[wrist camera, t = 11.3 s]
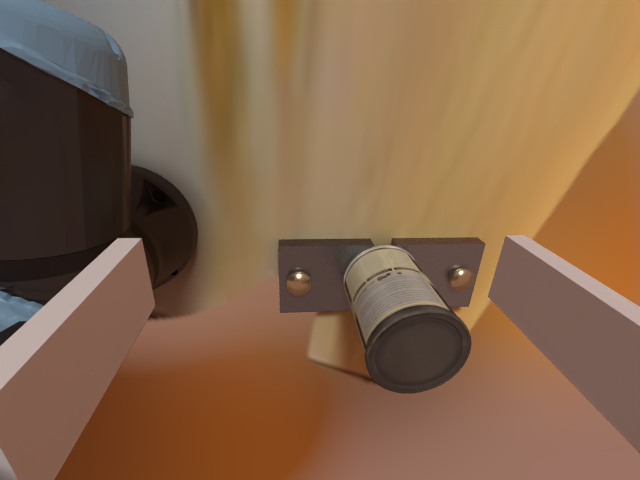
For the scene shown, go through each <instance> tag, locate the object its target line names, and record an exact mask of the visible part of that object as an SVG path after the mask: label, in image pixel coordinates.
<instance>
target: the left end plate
mask: <svg viewBox="0 0 640 480" xmlns="http://www.w3.org/2000/svg"><path fill="white" fill-rule="evenodd" d="M372 247H374V244H373V243H372V241H371V239H295V240H279V282H280V283H279V284H280V313H288V312H318V311H348V310H351V308H350V304H349V301H348V298H347V295H346V293H345V290H344V286H343V280H344V274H345V272H346V269H347V267H348V266H349V264H350V263H351V261H352V260H353V259H354V258H355V257H356V256H357V255H359V254H360V253H361V252H363V251H365V250H367V249H369V248H372Z"/></svg>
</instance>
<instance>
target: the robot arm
mask: <svg viewBox="0 0 640 480" xmlns="http://www.w3.org/2000/svg"><path fill="white" fill-rule="evenodd" d="M131 118H133V111H132V109H131V108H130V105H129V89H128V73H127V63H126V59H125V56H124V53H123V51H122V50H121V48H120V46H119V45H118V44H117V42H116V41H115V40H114V39H113V38H112V37H111V36H110V35H109V34H108V33H106V32H105V31H103V30H102V29H100V28H99V27H97V26H95V25H94V24H92V23H90V22H88V21H86V20H84V19H82V18H80V17H78V16H76V15H73V14H71V13H69V12H67V11H65V10H62V9H60V8H58V7H55V6H53V5H51V4H49V3H46V2H44V1H42V0H0V480H54V479H55V477H56V475H57V474H58V472H59V470H60V469H61V467H62V465H63V463H64V461H65V460H66V458H67V456H68V455H69V453H70V451H71V450H72V448H73V446H74V445H75V443H76V441H77V439H78V438H79V436H80V434H81V432H82V431H83V429H84V427H85V425H86V424H87V422H88V421H89V419H90V417H91V415H92V414H93V412H94V410H95V409H96V407H97V405H98V403H99V402H100V400H101V398H102V396H103V395H104V393H105V391H106V389H107V388H108V386H109V384H110V383H111V381H112V379H113V378H114V376H115V374H116V372H117V371H118V369H119V367H120V365H121V364H122V362H123V361H124V359H125V357H126V355H127V353H128V352H129V350H130V348H131V347H132V345H133V343H134V342H135V340H136V338H137V336H138V335H139V333H140V331H141V329H142V328H143V326H144V324H145V323H146V321H147V319H148V318H149V316H150V314H151V312H152V311H153V309H154V307H155V306H156V305H155V301H154V296H153V291H152V290H154V289H156V288H157V287H159V286H161V285H162V284H164V283H166V282H168V281H169V280H171V279H173V278H174V277H175V276H176V275H178V274H179V273H180V272H181V271H182V269H183V268H184V267H185V266H186V264H187V262H188V261H189V259H190V257H191V255H192V253H193V251H194V249H195V246H196V241H197V224H196V220H195V216H194V213H193V211H192V209H191V207H190V205H189V203H188V202H187V200H186V199H185V197H184V196H183V195H182V194H181V192H180V191H179V190H178V189H177V188H176V187H175V186H174V185H172V184H171V183H170V182H169V181H167V180H166V179H164V178H163V177H161V176H160V175H158V174H156V173H154V172H152V171H150V170H147V169H144V168H141V167H138V166H133V165H131ZM488 297H489V298H490V299H491V300H492V301H493V302H494V303H495V304H496V305H497V306H498V307H499V308H500V310H501V311H502V312H503V313H504V314H505V315H506V316H507V317H508V318H509V319H510V320H511V321H512V322H513V323H514V324H515V325H516V326H517V327H518V328H519V329H520V330H521V331H522V332H523V333H524V334H525V335H526V336H527V337H528V338H529V339H530V340H531V342H532V343H533V344H534V345H535V346H536V347H537V348H538V349H539V350H540V351H541V352H542V353H543V354H544V355H545V356H546V357H547V358H548V359H549V360H550V361H551V362H552V363H553V364H554V365H555V366H556V367H557V368H558V369H559V371H560V372H561V373H562V374H563V375H564V376H565V377H566V378H567V379H568V380H569V381H570V382H571V383H572V384H573V385H574V386H575V387H576V388H577V389H578V390H579V391H580V392H581V393H582V394H583V395H584V396H585V397H586V398H587V399H588V401H589V402H590V403H591V404H592V405H593V406H594V407H595V408H596V409H597V410H598V411H599V412H600V413H601V414H602V415H603V416H604V417H605V418H606V419H607V420H608V421H609V422H610V423H611V424H612V425H613V426H614V427H615V428H616V429H617V430H618V431H619V432H620V433H621V435H622V436H623V437H624V438H625V439H626V440H627V441H628V442H629V443H630V444H631V445H632V446H633V447H634V448H635V449H636V450H637V451H638V452H639V453H640V307H639V306H637V305H636V304H634V303H632V302H631V301H629V300H628V299H626V298H624V297H623V296H621V295H620V294H618V293H616V292H615V291H613V290H612V289H610V288H608V287H607V286H605V285H603V284H602V283H600V282H599V281H597V280H595V279H594V278H592V277H591V276H589V275H587V274H586V273H584V272H583V271H581V270H579V269H578V268H576V267H575V266H573V265H571V264H570V263H568V262H566V261H565V260H563V259H562V258H560V257H559V256H557V255H555V254H554V253H552V252H551V251H549V250H547V249H546V248H544V247H542V246H541V245H539V244H538V243H536V242H534V241H533V240H531V239H530V238H528V237H526V236H525V235H516V236H506V237H505V240H504V244H503V247H502V250H501V254H500V257H499V261H498V264H497V267H496V271H495V274H494V278H493V281H492V284H491V288H490V291H489V295H488Z"/></svg>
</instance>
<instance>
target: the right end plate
mask: <svg viewBox="0 0 640 480" xmlns="http://www.w3.org/2000/svg"><path fill="white" fill-rule="evenodd" d="M391 245H392V246H396V247H399V248H402V249H404V250H406V251H407V252H408V253H409V254H410V255H411V256H412V257H413V258H414V260H415V261H416V263H417V264H418V266H419V267H420V268H421V269H422V271H423V272H424V274H425V275H426V276H427V278H428V279H429V280H430V282H431V283H432V284H433V286H434V287H435V288H436V289H437V291H438V292H439V293H440V295H441V296H442V297H443V298H444V300H445V301H446V302H447V304H448V305H449V306H450V307H469V304H470V300H471V296H472V292H473V289H474V285H475V281H476V277H477V273H478V270H479V266H480V262H481V258H482V255H483V251H484V247H485V243H484V242H482V241H481V240H480V239H479V238H392V244H391Z"/></svg>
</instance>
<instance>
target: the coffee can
mask: <svg viewBox="0 0 640 480" xmlns="http://www.w3.org/2000/svg"><path fill="white" fill-rule="evenodd" d="M343 286H344V290H345V293H346V295H347V298H348V301H349V304H350V308H351V311H352V314H353V318H354V321H355V324H356V327H357V331H358V334H359V337H360V341H361V344H362V347H363V351H364V354H365V361H366V366H367V369H368V372H369V374H370V376H371V377H372V379H373V380H374V381H375V382H376V383H377V384H378V385H380V386H381V387H383V388H385V389H387V390H390V391H393V392H397V393H417V392H423V391H426V390H429V389H432V388H435V387H437V386H440V385H441V384H443V383H445V382H446V381H448V380H449V379H451V378H452V377H453V376H454V375H455V374H456V373H457V372H458V371H459V370H460V369H461V368H462V367H463V365H464V364H465V362H466V360H467V358H468V355H469V353H470V349H471V336H470V333H469V330H468V328H467V327H466V325H465V324H464V322H463V321H462V320H461V319H460V318H459V317H458V316H456V314H455V313H454V312H453V310H452V309H451V308H450V306H449V305H448V304H447V302H446V301H445V300H444V298H443V297H442V296H441V295H440V293H439V292H438V291H437V289H436V288H435V287H434V286H433V284H432V283H431V282H430V280H429V279H428V278H427V276H426V275H425V274H424V272H423V271H422V269H421V268H420V267H419V266H418V264H417V263H416V261H415V260H414V258H413V257H412V256H411V255H410V254H409V253H408V252H407V251H406V250H404V249H402V248H399V247H396V246H392V245H380V246H375V247H372V248H369V249H367V250H365V251H363V252H361V253H360V254H359V255H357V256H356V257H355V258H354V259H353V260H352V261H351V263H350V264H349V266H348V267H347V269H346V272H345V274H344V280H343Z"/></svg>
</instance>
